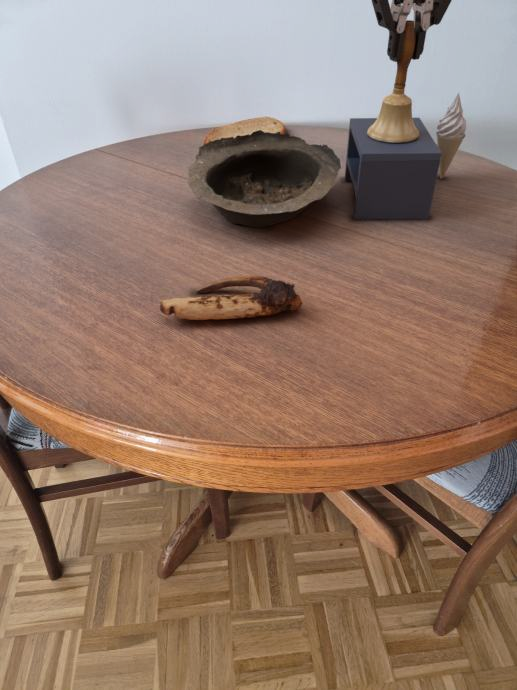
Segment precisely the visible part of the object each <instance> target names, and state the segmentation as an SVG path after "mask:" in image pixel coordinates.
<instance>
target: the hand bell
mask: <svg viewBox="0 0 517 690" xmlns="http://www.w3.org/2000/svg"><path fill="white" fill-rule="evenodd" d="M402 33H404V40H403V48H402V55H401V60H400V61H399V62H396V75H395V80H394V83H393V90H392V93H391V94H389V95H386V96H384V97H383V99H382V101H381V102H382V103H381V107H380V111H379V114H378V116H377V117H376V118H377V120H376V121H375V123H374V124H373V125H371V126H370V127H369V129H368V131H367V134H368V136H370V137H371V138H373V139H375V140H378V141H383V142H389V143H403V142H410V141H413V140H415V139H417V138H418V137H419V131H418V129H417V128H416V127H415V125H414V123H413V119H412V118H413V100H412V98H411V97H409V96H408V95H407V94H405V88H406V83H407V76H408V69H409V66H410V64H411V61H412V60H413V59H412V56H413V53H414V48H415V39H416V37H415V29H414V21H413V20H412V19H411V20H410V19H409V20H408V19H407V20H406V24H405V28H404V31H403V32H402Z"/></svg>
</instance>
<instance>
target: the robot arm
mask: <svg viewBox="0 0 517 690" xmlns="http://www.w3.org/2000/svg"><path fill="white" fill-rule="evenodd" d="M452 1H453V0H391V4H390V2H389V0H371V4H372V7H373V11H374V14H375V18H376V21H377V25H378V26H379V27H382V28H384V29H386V30H387V31H388V41H387V50H386V53H387V56H388V58H389V60H390V61H391V62H393V63H397V62H399V61H400V60H401V55H402V48H403V40H404V33H402V32H403V31H404V28H405V24H406V21H407V20H408V17H409V15H410V14H411V12H412V11H413V20H412V21H414V29H415V37H416V39H415V48H414V53H413V56H412V59H411V60H413V61H416V60H419V59H420V57H421V55H422V54H423V52H424V50H425V49H424V48H425V42H426V36H427V32H428V30H429V29H430V27H433V26H434V25H435V26H438V25H439V24H441V22H442V20H443V18H444V16H445V15H446V13H447V10H448V8H449V7H450V4H451V3H452Z"/></svg>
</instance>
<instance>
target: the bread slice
mask: <svg viewBox="0 0 517 690" xmlns="http://www.w3.org/2000/svg"><path fill="white" fill-rule="evenodd" d="M259 130H261V131H263V132H265V133H266V132H269V133H277V132H280V134H286V133H287V128H286V125H285V124H284V123H283V122H282V121H281V120H278V119H276V118H275V117H270V116H260V117H253V118H247V119H243V120H239V121H235V122H233V123H232V122H231V123H229V124H224V125H222V126H217V127H214V128H212V129H211V131H209V132H208V134H207V135H206V136H205V138H204V141H203V143H202V144H203V145H205V144H207V143H208V142H210V141H214V140H220V139H221V138H228V137H234V138H235V137H236V136H238V135H239V136H244V135H248V134H249V135H251V134H252V133H253V132H255V131H259ZM203 145H202V146H203Z"/></svg>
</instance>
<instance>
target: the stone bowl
mask: <svg viewBox="0 0 517 690" xmlns="http://www.w3.org/2000/svg"><path fill="white" fill-rule="evenodd" d="M341 169H342V166H341V160H340V158H339V157H338V156H337V155H336V154H335V151H334V150H333V149H332V148H331V147H329V146H328V145H327V144H313V143H312V144H309V143H307V141H306V140H305V139H302V138H301V137H299V136H295V135H289V134H288V133H287V132H286V134H280V132H277V133H269V132H266V133H265V132H263V131H261V130H259V131H255V132H253V133H252V134H251V135H249V134H248V135H244V136H239V135H238V136H236V137H235V138H234V137H228V138H221V139H220V140H214V141H210V142H208V143H207V144H205V145H202V146H200V147H198V154H196V155H195V161H194V162H193V163H190V164H189V165H188V172H187V176H188V178H187V179H188V180H187V185H188V187H189V189H191V192H192V193H193V194H194V195H195V197H196V198H197V199H199V200H201V201H203V202H205V201H206V202H208V203H211V204H212V205H213V207H214V208H215V209H216V211H217V212H218V214H220V215H221V216H223V217H224V218H225V219H226V221H228V223H230V224H232V225H242V226H246V227H252V228H266V227H268V226H270V225H275V224H279V223H283V222H287V221H289V220H291V219H293V218H294V217H296V216H297V215H299V214H301V213H302V212H303V211H304V210H306V209H307V208H308V207H309V206H310V204H312V202H314V201H318V200H322V199H323V198H324V197H325V196H326V195H327V194H328V193H329V192H330V191H331V189H332V188H333V187H334V186H335V184H336V179H337V178H338V175H339V173H338V172H339V171H340V170H341Z"/></svg>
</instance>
